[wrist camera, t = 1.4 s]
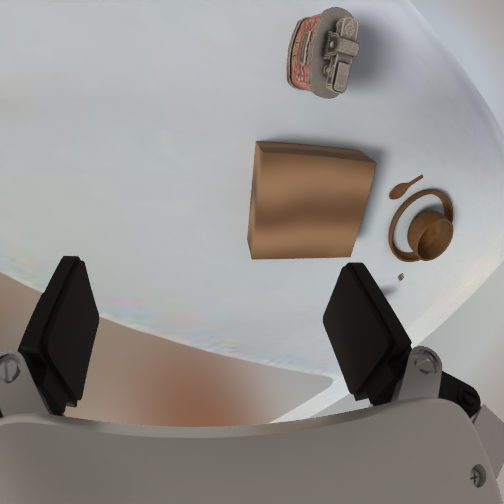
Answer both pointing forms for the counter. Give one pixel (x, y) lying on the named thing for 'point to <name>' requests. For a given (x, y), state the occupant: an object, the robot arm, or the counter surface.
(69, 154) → the counter surface
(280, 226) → the walnut base
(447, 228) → the place setting
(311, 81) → the lighter
